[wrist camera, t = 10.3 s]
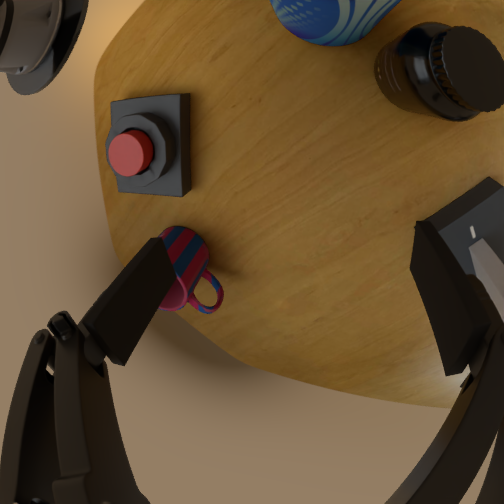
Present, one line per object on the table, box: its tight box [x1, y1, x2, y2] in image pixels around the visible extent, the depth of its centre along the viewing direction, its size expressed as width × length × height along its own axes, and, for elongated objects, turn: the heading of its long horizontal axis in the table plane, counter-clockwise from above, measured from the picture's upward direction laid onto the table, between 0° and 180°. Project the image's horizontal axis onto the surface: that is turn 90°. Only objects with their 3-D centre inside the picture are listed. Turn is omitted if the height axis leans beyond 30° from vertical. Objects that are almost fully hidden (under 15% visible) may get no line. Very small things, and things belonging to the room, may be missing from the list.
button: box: [109, 130, 154, 177], centre depth 21 cm, size 4×4×2 cm
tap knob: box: [469, 238, 504, 322], centre depth 17 cm, size 6×2×9 cm, turn 42°
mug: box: [158, 226, 224, 314], centre depth 29 cm, size 7×10×7 cm
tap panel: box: [414, 177, 504, 276], centre depth 22 cm, size 14×11×3 cm
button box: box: [105, 93, 191, 197], centre depth 23 cm, size 10×8×4 cm
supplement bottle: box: [374, 22, 504, 122], centre depth 12 cm, size 7×7×12 cm
